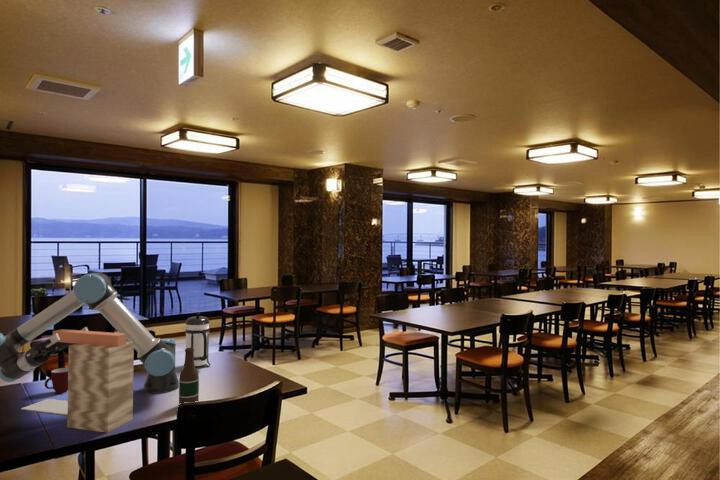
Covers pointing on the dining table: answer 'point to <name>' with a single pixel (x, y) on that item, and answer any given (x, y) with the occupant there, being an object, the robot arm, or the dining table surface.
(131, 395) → the stand
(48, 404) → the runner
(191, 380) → the beer bottle
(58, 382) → the mug
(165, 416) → the dining table surface
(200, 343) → the coffee press
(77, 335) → the pink long bar
